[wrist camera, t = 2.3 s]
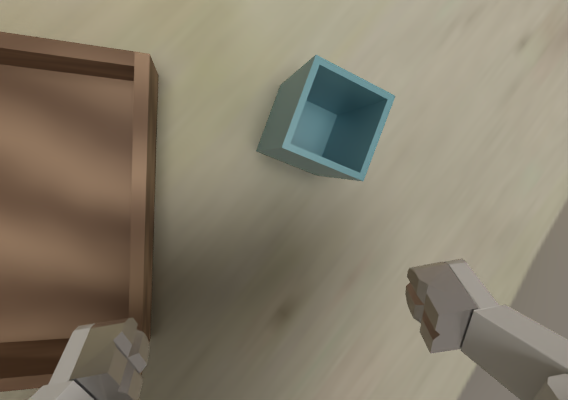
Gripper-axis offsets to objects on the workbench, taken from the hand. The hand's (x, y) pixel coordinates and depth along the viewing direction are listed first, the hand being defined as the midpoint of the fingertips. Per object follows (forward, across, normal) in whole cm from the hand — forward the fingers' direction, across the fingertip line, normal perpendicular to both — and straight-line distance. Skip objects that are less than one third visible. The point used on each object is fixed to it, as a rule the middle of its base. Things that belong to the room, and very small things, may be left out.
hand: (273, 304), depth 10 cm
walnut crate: (+14, -16, -3) cm, 22 cm away
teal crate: (+19, +3, -4) cm, 20 cm away
